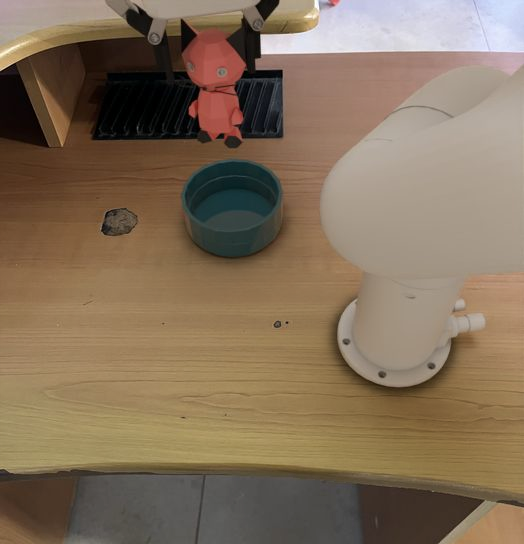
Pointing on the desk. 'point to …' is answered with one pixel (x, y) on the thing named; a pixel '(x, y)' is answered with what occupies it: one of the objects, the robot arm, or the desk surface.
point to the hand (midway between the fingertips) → (209, 69)
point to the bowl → (233, 207)
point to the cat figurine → (214, 80)
